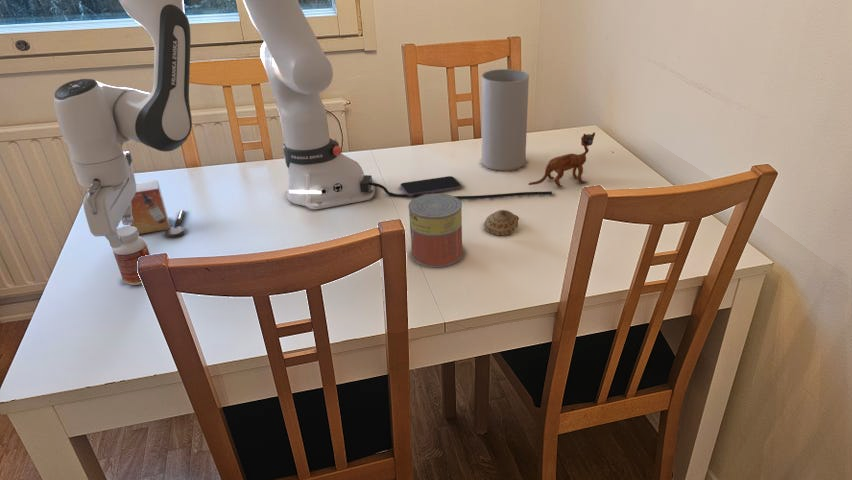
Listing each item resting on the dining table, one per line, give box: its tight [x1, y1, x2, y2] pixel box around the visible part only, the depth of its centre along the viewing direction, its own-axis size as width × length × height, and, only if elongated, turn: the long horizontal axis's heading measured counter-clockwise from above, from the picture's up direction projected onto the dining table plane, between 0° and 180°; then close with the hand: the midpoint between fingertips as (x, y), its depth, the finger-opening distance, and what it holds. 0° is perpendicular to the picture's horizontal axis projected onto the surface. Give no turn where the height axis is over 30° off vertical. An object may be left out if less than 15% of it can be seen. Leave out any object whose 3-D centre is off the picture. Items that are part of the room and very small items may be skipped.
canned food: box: [407, 192, 464, 268], centre depth 139 cm, size 11×11×12 cm
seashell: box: [483, 209, 520, 236], centre depth 152 cm, size 8×6×8 cm
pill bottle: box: [111, 225, 151, 286], centre depth 131 cm, size 6×6×11 cm
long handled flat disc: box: [164, 209, 185, 239], centre depth 154 cm, size 13×4×1 cm, turn 13°
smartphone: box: [400, 175, 462, 196], centre depth 171 cm, size 7×1×15 cm
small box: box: [129, 179, 171, 235], centre depth 150 cm, size 8×6×10 cm
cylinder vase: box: [481, 68, 530, 172], centre depth 179 cm, size 12×12×25 cm
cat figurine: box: [527, 131, 596, 188], centre depth 170 cm, size 18×7×14 cm, turn 109°
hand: (123, 234), depth 128 cm, fingers open, 8 cm apart
